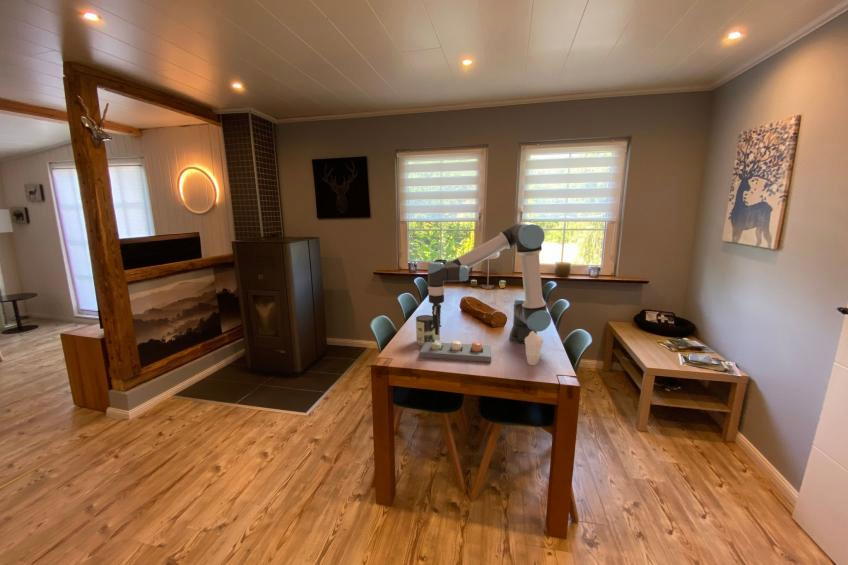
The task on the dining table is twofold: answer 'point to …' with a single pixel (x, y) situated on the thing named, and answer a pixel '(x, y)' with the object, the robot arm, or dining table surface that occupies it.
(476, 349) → the terracotta button
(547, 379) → the dining table surface
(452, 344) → the cream button
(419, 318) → the coffee can
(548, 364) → the dining table surface
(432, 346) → the sage button
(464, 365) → the dining table surface
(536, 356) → the soft serve ice cream cone
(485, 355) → the button panel
